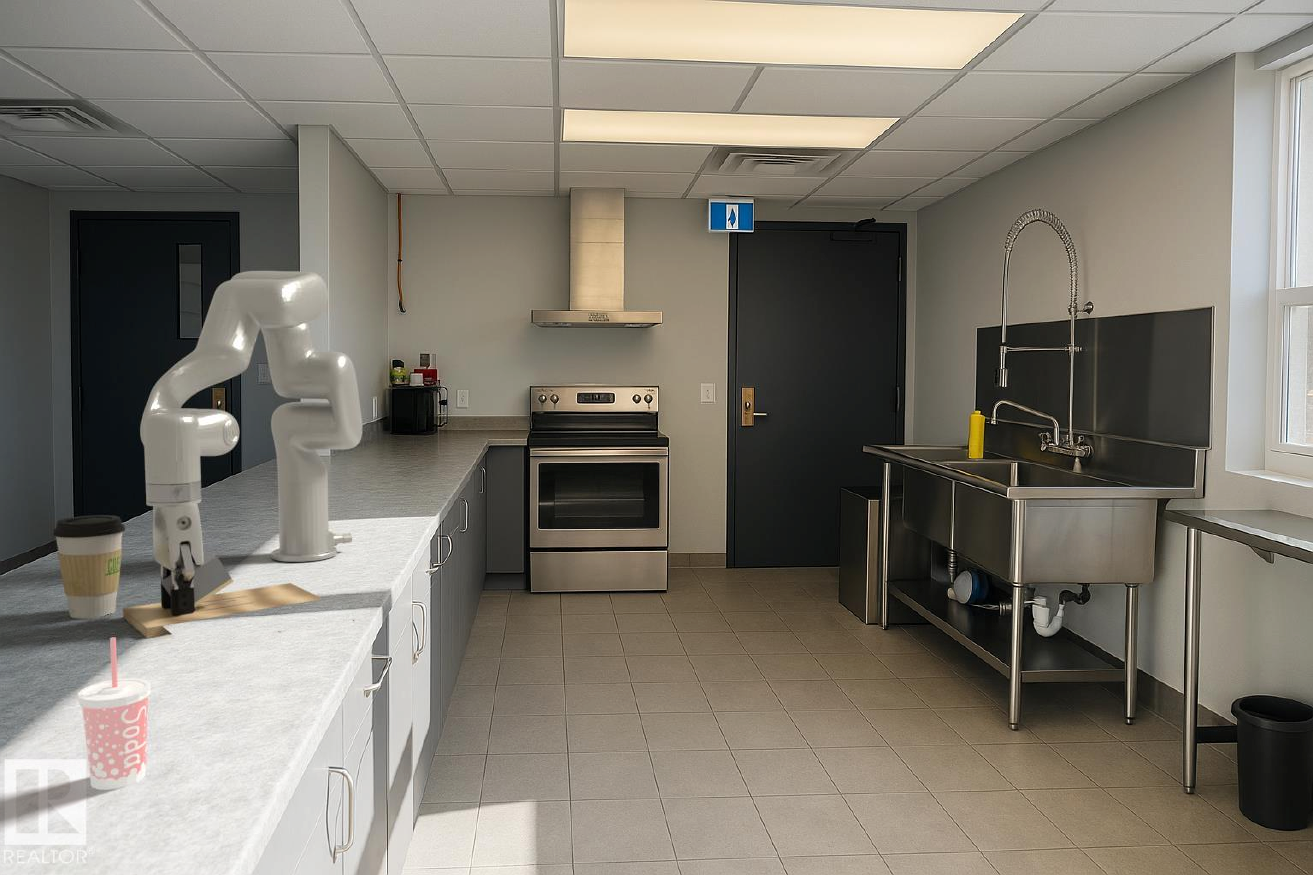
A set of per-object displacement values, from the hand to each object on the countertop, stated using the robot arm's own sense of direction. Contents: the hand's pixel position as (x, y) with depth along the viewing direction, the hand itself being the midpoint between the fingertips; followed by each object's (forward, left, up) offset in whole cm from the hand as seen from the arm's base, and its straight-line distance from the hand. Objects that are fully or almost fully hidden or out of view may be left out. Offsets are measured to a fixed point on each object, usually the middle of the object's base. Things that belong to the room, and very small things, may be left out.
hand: (178, 609), depth 145 cm
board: (-7, 0, -2) cm, 7 cm away
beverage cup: (+20, +55, -2) cm, 59 cm away
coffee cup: (+9, -13, -2) cm, 16 cm away
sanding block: (-4, 0, +2) cm, 4 cm away
